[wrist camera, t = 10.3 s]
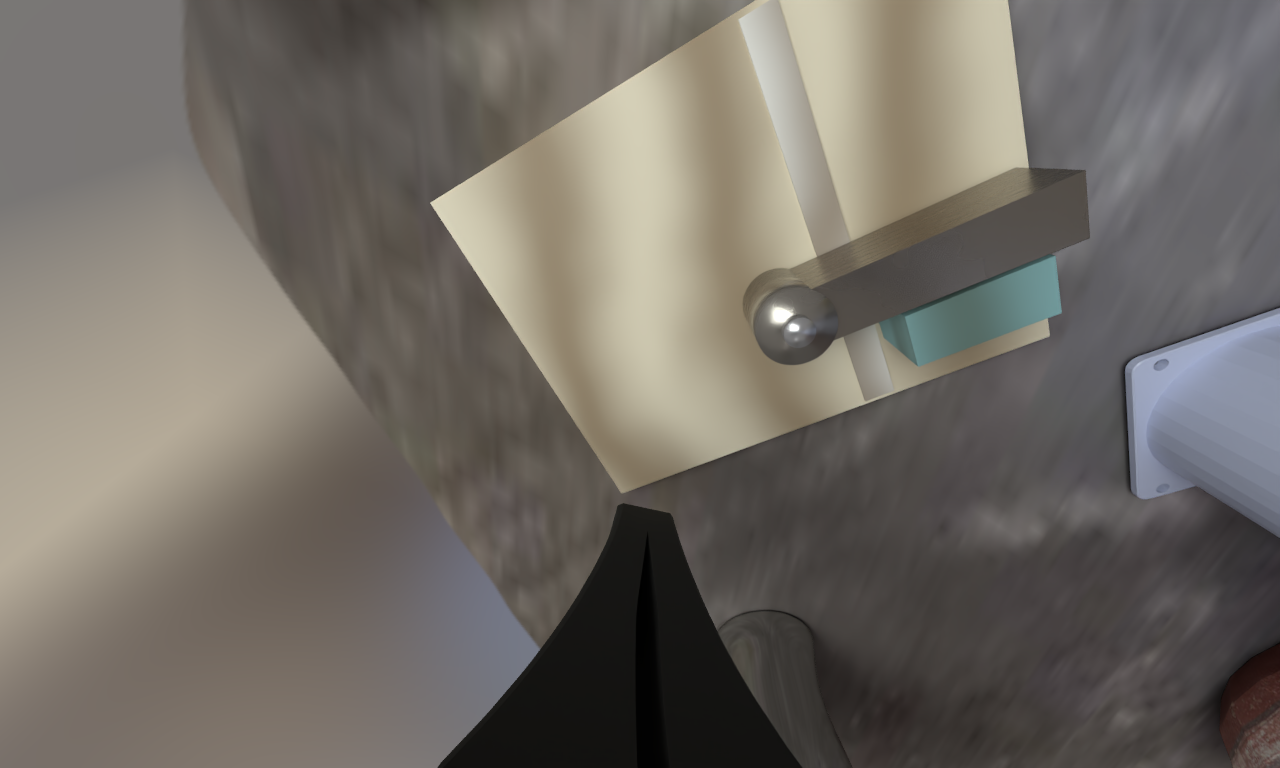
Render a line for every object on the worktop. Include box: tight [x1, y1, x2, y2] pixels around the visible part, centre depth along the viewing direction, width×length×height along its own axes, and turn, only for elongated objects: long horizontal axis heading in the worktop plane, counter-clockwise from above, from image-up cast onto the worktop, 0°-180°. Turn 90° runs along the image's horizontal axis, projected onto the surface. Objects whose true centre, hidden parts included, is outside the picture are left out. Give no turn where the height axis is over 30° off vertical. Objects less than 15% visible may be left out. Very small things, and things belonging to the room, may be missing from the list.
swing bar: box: [743, 167, 1090, 365], centre depth 15 cm, size 10×3×3 cm, turn 116°
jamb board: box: [431, 0, 1062, 493], centre depth 16 cm, size 19×15×4 cm
